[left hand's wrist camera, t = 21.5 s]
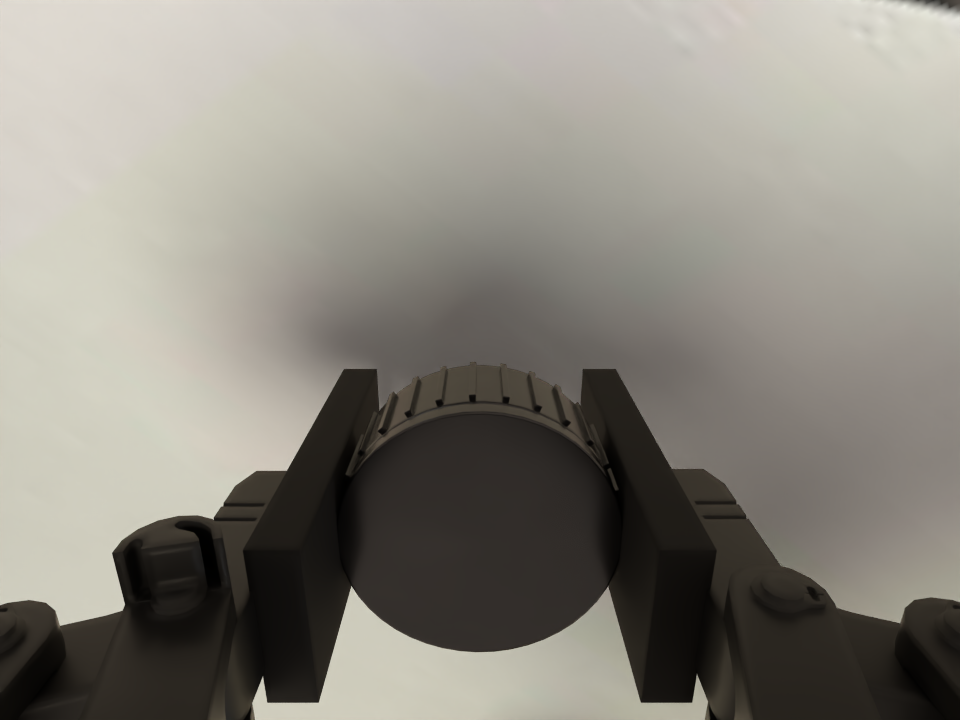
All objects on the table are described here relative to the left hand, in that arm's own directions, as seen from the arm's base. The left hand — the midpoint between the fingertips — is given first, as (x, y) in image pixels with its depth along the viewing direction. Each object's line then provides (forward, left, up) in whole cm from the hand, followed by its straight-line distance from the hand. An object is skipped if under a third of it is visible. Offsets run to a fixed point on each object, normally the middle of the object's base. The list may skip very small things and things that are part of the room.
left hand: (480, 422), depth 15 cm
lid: (0, 0, +4) cm, 4 cm away
